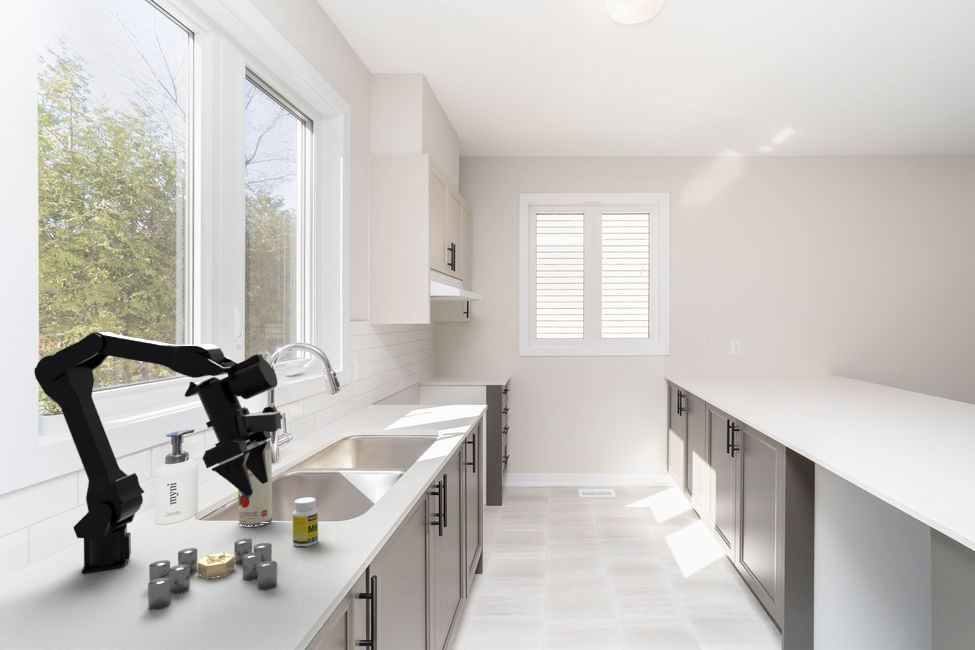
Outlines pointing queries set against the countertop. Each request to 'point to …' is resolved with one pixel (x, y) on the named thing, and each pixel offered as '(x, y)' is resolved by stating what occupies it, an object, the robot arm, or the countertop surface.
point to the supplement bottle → (305, 522)
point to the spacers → (179, 576)
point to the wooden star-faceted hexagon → (216, 565)
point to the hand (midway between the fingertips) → (258, 488)
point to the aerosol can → (257, 497)
